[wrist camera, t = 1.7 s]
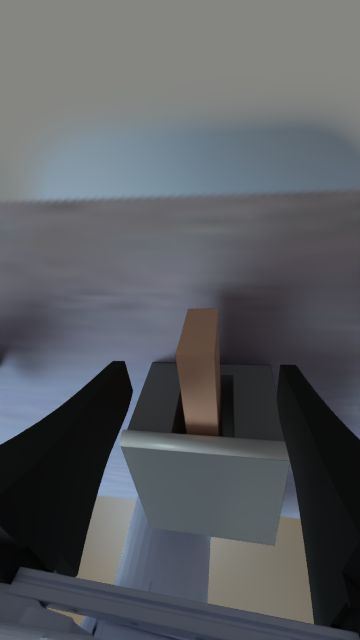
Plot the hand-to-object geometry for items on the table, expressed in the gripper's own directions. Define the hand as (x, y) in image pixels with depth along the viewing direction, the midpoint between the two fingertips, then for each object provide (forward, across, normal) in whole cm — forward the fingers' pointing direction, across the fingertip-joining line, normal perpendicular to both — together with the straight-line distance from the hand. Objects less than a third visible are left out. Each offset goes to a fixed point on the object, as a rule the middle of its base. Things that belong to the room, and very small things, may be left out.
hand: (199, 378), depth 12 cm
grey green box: (+5, 0, +8) cm, 9 cm away
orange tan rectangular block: (+3, 0, +4) cm, 5 cm away
